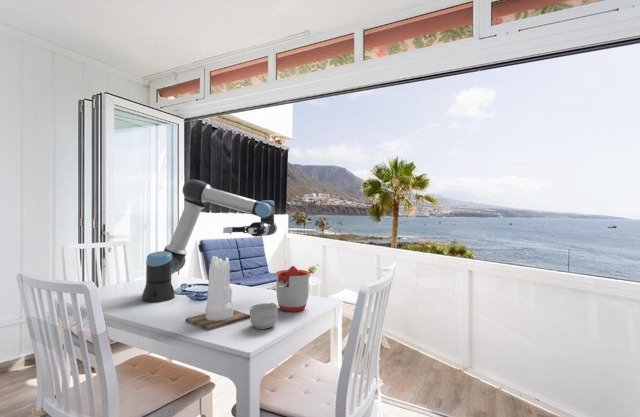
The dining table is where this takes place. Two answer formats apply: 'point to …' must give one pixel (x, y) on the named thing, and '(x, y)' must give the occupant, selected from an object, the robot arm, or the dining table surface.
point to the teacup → (263, 315)
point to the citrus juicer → (292, 289)
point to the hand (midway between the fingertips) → (236, 230)
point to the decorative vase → (219, 291)
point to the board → (208, 324)
